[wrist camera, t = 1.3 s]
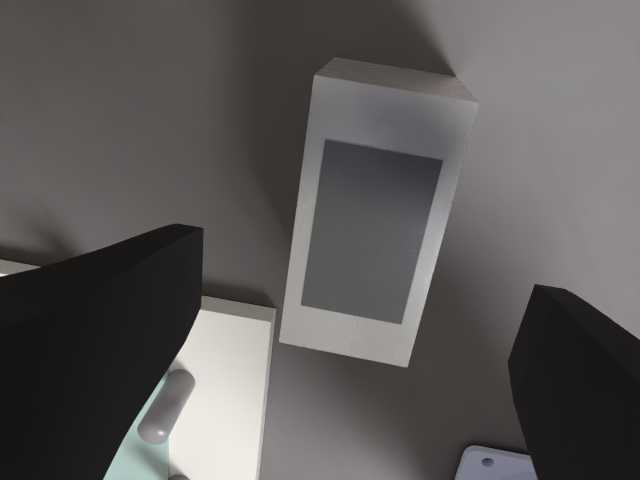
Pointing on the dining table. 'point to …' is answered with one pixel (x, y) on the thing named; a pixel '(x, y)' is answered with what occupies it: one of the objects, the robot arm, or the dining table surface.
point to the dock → (203, 400)
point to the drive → (373, 206)
